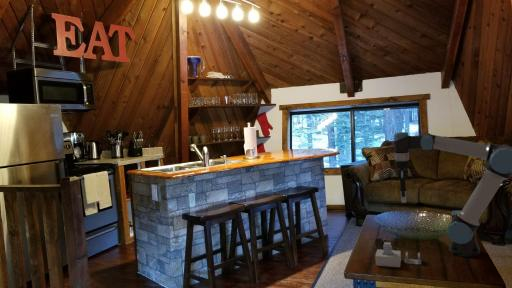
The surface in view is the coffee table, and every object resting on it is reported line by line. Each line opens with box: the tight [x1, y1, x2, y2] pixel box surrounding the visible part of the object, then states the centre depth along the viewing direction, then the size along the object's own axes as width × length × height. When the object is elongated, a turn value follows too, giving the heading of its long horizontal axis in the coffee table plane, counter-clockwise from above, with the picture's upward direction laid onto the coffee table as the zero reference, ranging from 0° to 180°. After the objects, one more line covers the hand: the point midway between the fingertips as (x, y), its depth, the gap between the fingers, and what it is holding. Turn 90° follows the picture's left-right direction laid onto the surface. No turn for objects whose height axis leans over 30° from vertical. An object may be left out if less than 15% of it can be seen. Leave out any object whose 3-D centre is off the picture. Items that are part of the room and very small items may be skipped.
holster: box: [404, 251, 422, 265], centre depth 209 cm, size 8×6×5 cm
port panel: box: [374, 249, 402, 268], centre depth 210 cm, size 12×10×6 cm
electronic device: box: [374, 238, 393, 252], centre depth 228 cm, size 4×10×8 cm, turn 42°
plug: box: [383, 241, 393, 255], centre depth 210 cm, size 4×3×9 cm
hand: (403, 202), depth 221 cm, fingers closed
